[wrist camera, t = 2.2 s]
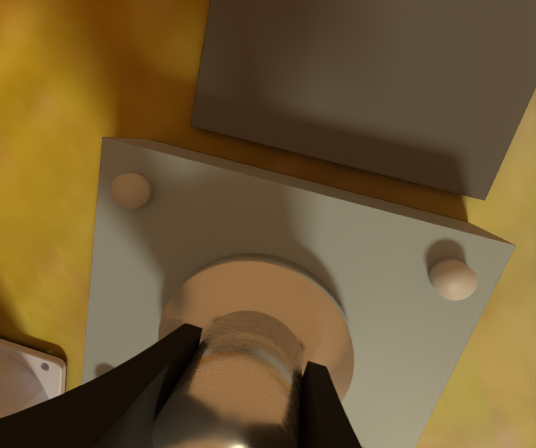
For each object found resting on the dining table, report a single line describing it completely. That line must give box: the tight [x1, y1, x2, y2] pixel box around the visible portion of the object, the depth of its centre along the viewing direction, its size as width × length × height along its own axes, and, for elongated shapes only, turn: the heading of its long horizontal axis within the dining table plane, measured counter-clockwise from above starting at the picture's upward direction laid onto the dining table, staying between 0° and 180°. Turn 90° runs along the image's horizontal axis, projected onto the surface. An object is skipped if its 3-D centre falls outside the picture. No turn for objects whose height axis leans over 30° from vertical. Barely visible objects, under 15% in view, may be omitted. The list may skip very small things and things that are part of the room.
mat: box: [191, 0, 536, 200], centre depth 11 cm, size 12×8×1 cm, turn 77°
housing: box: [82, 137, 516, 448], centre depth 13 cm, size 14×12×4 cm
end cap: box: [153, 253, 354, 448], centre depth 10 cm, size 7×7×6 cm
